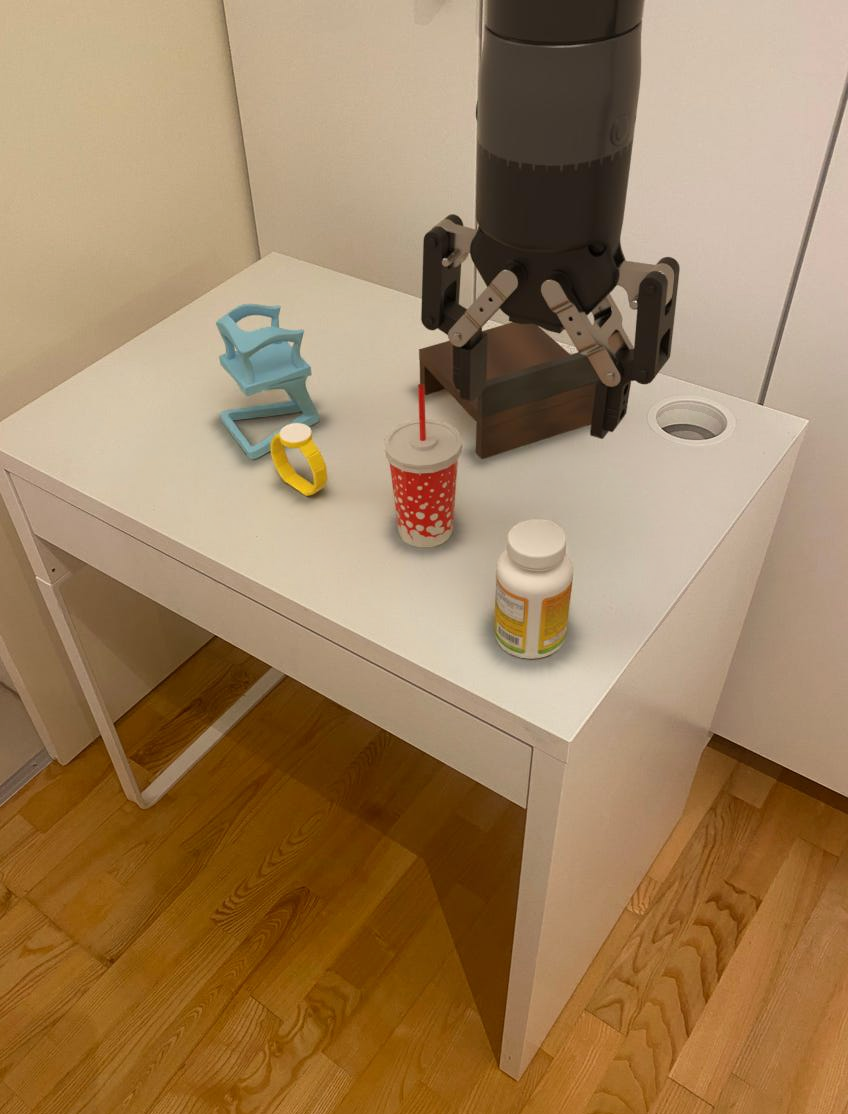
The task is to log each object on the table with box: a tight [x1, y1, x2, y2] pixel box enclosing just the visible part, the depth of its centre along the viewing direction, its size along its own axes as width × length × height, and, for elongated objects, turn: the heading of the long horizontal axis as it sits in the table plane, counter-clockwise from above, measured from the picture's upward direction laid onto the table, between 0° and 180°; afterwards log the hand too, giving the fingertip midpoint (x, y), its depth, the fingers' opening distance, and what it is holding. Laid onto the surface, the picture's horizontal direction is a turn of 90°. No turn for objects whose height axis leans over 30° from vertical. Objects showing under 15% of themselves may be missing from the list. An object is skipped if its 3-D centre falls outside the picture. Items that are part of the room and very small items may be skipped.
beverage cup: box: [383, 383, 463, 549], centre depth 78 cm, size 6×6×14 cm
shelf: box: [418, 322, 600, 460], centre depth 93 cm, size 12×13×8 cm
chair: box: [215, 303, 320, 460], centre depth 91 cm, size 8×8×12 cm
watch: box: [270, 423, 328, 497], centre depth 86 cm, size 6×3×6 cm, turn 45°
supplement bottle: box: [493, 518, 574, 660], centre depth 71 cm, size 5×5×10 cm
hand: (535, 412), depth 60 cm, fingers open, 8 cm apart
